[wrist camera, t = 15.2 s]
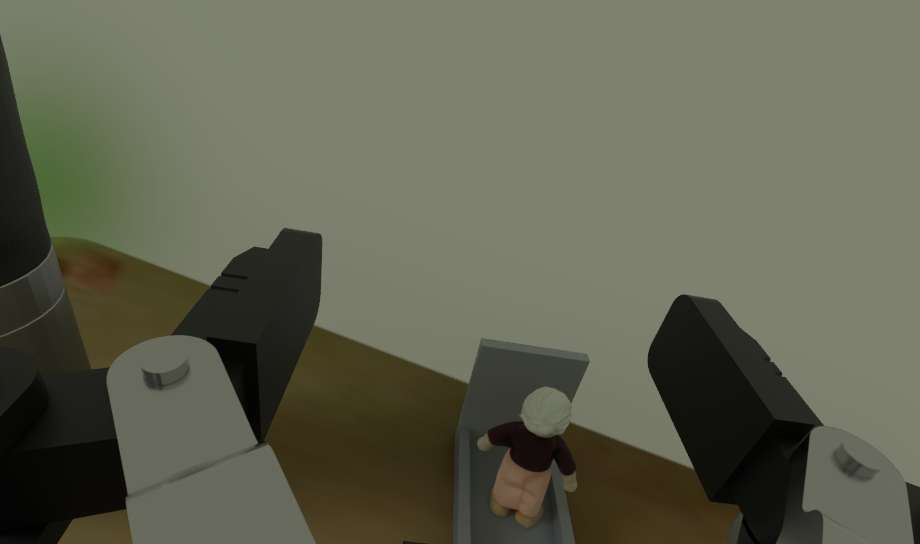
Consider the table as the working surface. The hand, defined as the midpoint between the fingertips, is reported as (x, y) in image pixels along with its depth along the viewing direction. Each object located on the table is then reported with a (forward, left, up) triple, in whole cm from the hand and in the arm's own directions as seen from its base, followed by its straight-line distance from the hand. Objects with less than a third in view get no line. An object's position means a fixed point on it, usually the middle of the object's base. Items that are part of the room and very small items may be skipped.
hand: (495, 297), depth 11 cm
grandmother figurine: (+9, +14, -29) cm, 34 cm away
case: (+9, +14, -30) cm, 34 cm away
